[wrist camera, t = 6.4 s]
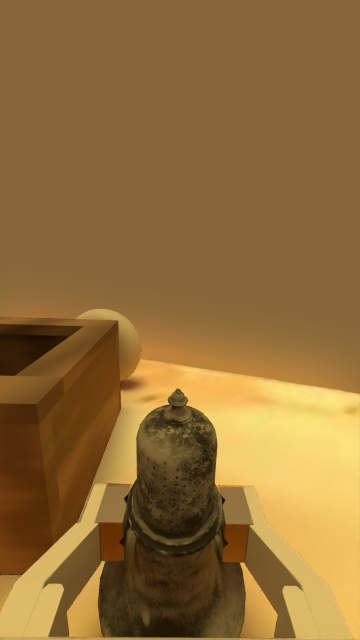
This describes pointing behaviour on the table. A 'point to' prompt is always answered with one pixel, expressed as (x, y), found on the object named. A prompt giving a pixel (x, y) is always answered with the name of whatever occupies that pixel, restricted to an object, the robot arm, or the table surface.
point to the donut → (121, 339)
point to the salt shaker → (173, 538)
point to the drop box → (51, 427)
